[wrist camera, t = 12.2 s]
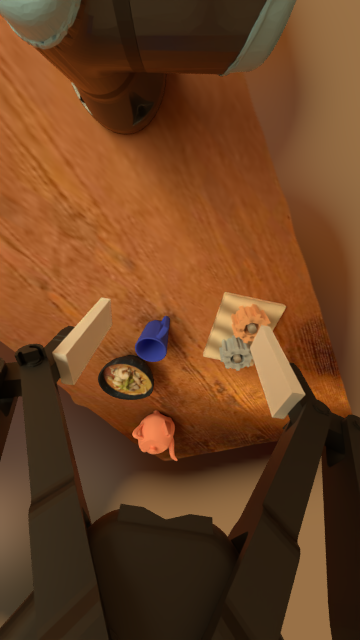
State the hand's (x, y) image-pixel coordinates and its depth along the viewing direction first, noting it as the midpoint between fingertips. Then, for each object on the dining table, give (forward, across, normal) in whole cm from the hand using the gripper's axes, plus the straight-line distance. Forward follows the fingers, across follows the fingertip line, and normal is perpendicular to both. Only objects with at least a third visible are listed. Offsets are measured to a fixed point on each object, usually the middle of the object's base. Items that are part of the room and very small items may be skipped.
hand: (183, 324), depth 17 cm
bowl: (+31, -13, -43) cm, 55 cm away
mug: (+32, -5, -24) cm, 40 cm away
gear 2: (+30, +18, -27) cm, 44 cm away
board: (+32, +18, -22) cm, 42 cm away
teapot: (+30, 0, -74) cm, 80 cm away
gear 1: (+30, +18, -16) cm, 39 cm away
